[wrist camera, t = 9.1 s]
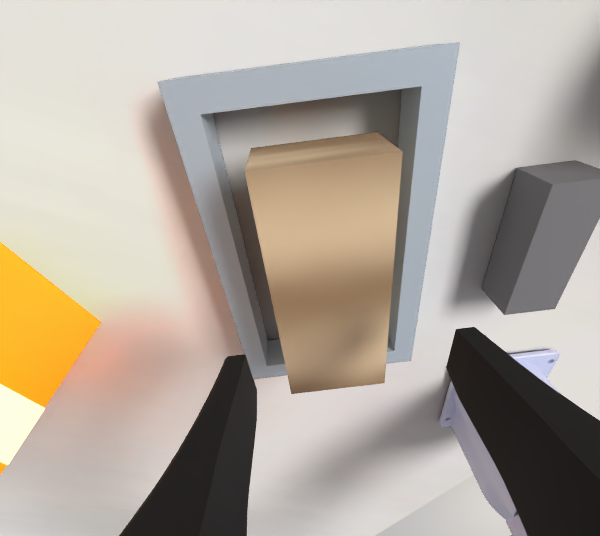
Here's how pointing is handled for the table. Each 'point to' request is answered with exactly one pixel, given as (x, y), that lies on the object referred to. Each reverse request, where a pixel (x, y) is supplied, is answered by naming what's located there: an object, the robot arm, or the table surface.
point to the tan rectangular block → (329, 253)
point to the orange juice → (33, 347)
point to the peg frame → (304, 87)
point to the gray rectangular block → (542, 235)
